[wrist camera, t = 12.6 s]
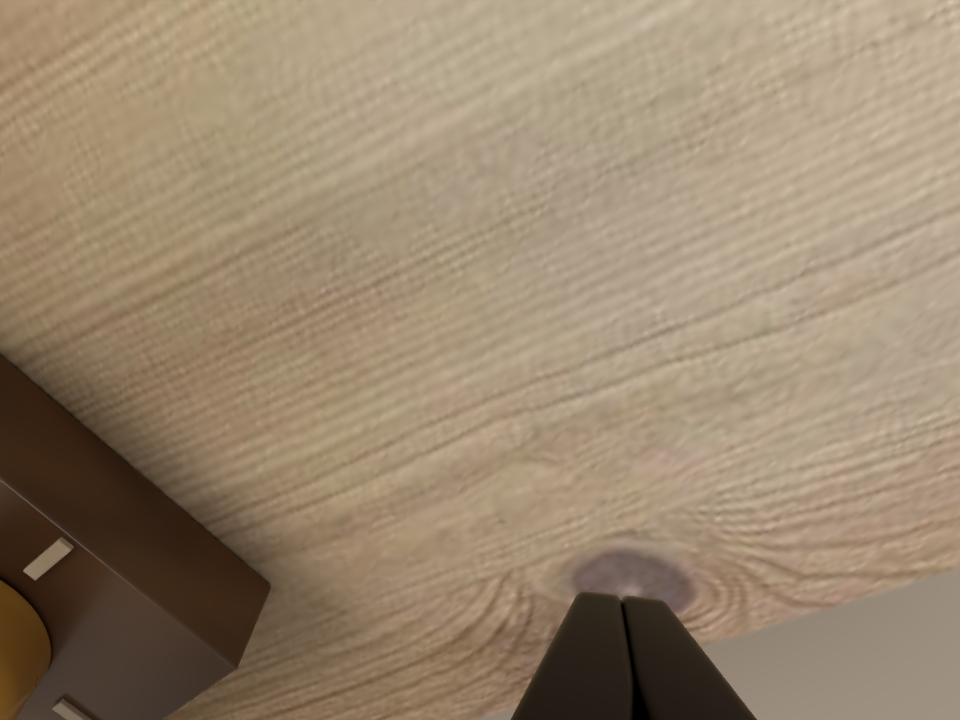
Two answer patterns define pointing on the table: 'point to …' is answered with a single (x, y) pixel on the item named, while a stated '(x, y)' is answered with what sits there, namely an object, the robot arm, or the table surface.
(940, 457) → the table surface
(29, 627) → the lock knob
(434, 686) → the table surface
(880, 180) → the table surface
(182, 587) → the brown flat block
